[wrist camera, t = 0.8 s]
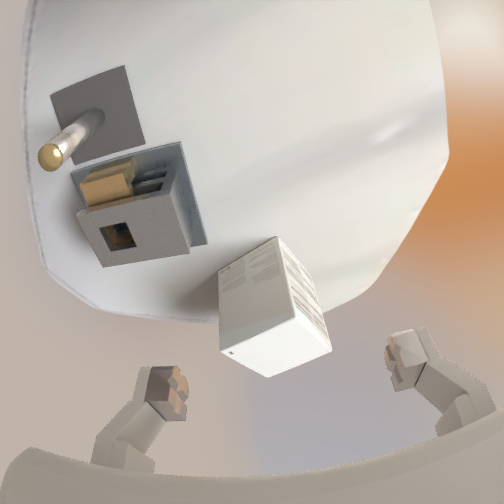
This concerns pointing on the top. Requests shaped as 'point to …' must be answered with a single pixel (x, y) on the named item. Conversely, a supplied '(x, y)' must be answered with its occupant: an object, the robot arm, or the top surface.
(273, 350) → the supplement box
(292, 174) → the top surface
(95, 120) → the pin
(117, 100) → the mat
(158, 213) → the grey layered square block
